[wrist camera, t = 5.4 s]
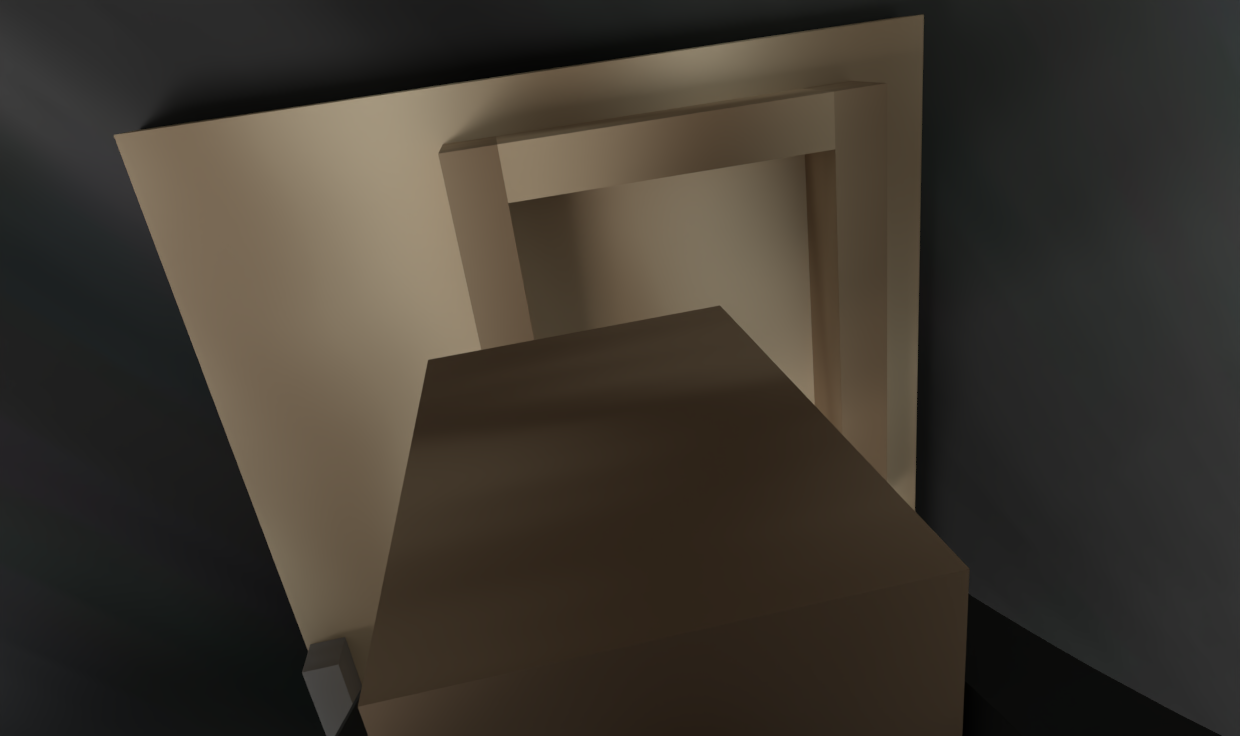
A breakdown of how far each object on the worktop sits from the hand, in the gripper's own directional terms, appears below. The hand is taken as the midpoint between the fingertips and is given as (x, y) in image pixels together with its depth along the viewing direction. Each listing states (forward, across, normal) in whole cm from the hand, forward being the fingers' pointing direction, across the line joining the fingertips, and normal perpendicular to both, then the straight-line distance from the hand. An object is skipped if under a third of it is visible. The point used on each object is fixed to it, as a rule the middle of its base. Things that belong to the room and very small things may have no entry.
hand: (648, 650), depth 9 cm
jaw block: (+3, 0, 0) cm, 3 cm away
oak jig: (+10, 0, +5) cm, 11 cm away
